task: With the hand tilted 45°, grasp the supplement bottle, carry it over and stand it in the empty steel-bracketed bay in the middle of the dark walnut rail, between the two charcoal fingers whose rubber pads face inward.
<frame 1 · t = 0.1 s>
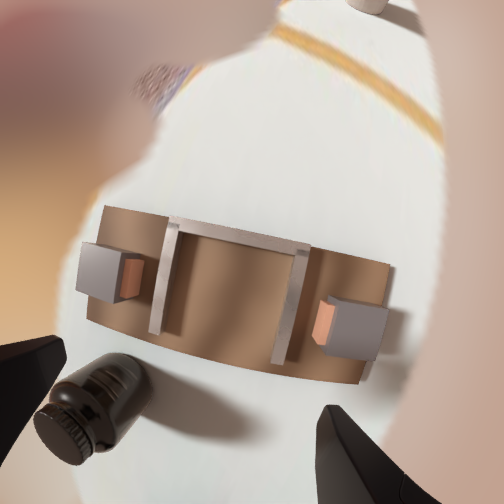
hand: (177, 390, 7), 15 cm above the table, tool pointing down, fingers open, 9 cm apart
walnut rail: (227, 297, 23), on the table
coffee cup: (363, 4, 23), on the table
supplement bottle: (125, 381, 23), on the table
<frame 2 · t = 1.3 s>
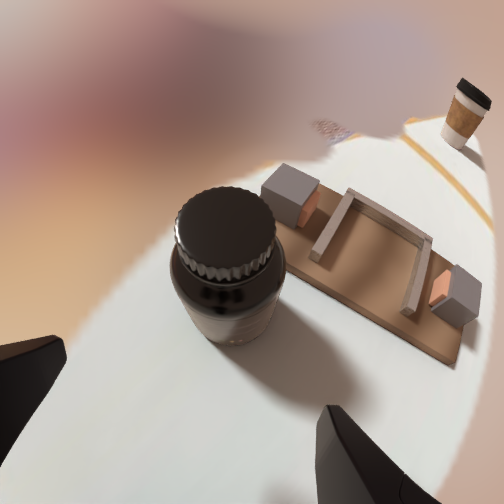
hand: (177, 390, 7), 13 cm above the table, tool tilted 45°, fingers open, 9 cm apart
walnut rail: (368, 262, 26), on the table
coffee cup: (450, 141, 43), on the table
supplement bottle: (231, 309, 23), on the table
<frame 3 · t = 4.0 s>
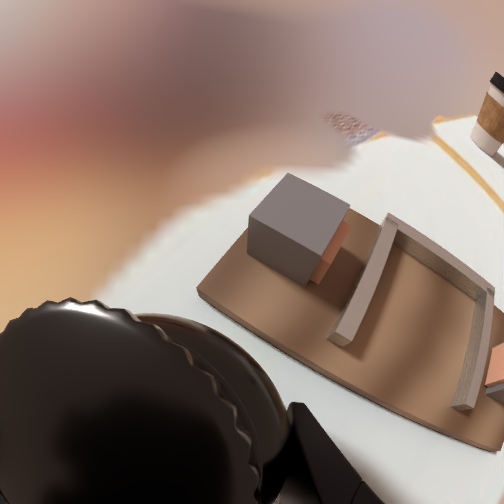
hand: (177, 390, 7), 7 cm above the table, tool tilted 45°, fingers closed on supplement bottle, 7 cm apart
walnut rail: (413, 330, 15), on the table
coffee cup: (481, 146, 33), on the table
supplement bottle: (199, 419, 12), on the table, touching gripper
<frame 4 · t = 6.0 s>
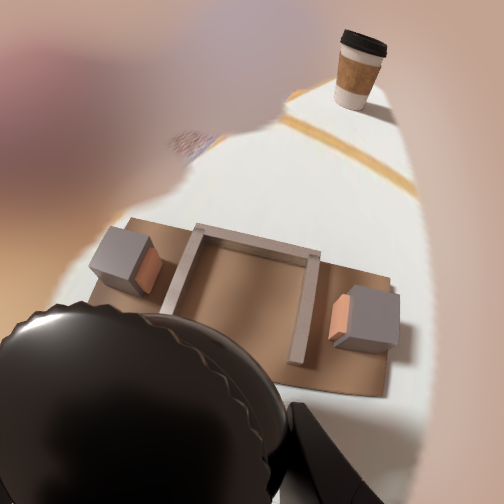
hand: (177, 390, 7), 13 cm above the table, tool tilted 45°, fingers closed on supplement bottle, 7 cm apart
walnut rail: (240, 307, 23), on the table
coffee cup: (348, 103, 44), on the table
supplement bottle: (194, 417, 12), point 6 cm above the table, touching gripper
when the fingers open (9 cm above the table, at t = 8.4 s): supplement bottle stays where it is, resting on walnut rail.
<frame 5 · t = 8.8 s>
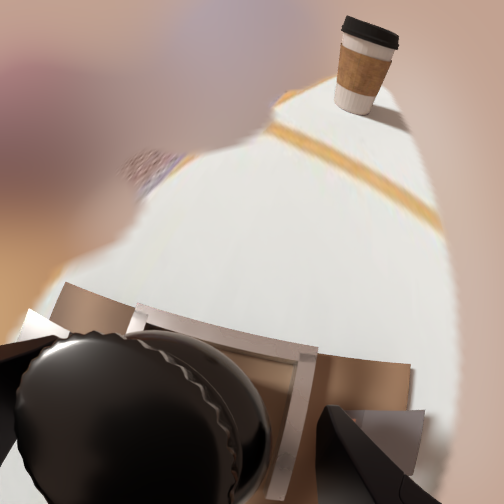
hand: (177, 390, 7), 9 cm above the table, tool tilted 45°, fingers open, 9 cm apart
walnut rail: (204, 417, 14), on the table
coffee cup: (351, 106, 36), on the table
supplement bottle: (197, 419, 13), point 1 cm above the table, touching walnut rail
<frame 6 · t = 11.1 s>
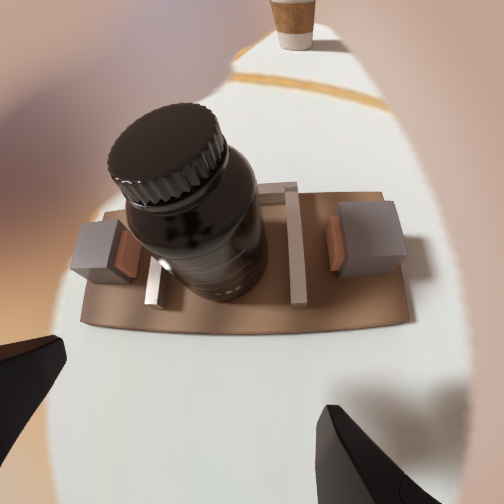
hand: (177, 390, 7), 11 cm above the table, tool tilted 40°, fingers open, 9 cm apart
walnut rail: (230, 263, 21), on the table
coffee cup: (296, 46, 39), on the table
supplement bottle: (223, 261, 20), point 1 cm above the table, touching walnut rail
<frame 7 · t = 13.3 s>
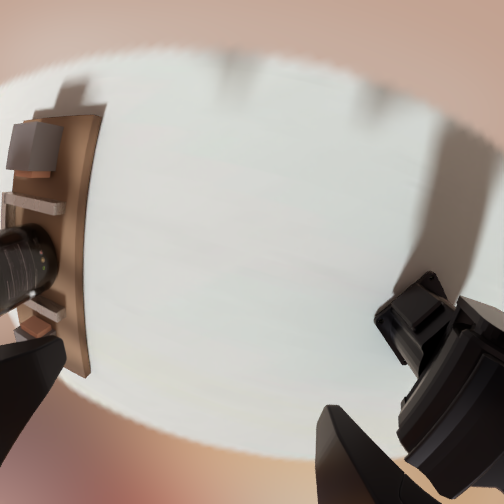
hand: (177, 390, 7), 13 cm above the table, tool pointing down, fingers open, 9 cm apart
walnut rail: (45, 250, 21), on the table
supplement bottle: (40, 256, 20), point 1 cm above the table, touching walnut rail
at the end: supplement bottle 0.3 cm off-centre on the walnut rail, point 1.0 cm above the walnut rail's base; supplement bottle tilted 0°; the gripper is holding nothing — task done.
